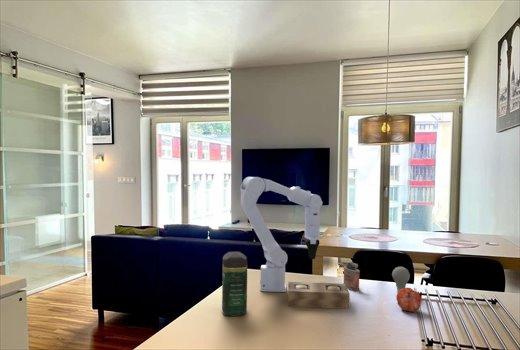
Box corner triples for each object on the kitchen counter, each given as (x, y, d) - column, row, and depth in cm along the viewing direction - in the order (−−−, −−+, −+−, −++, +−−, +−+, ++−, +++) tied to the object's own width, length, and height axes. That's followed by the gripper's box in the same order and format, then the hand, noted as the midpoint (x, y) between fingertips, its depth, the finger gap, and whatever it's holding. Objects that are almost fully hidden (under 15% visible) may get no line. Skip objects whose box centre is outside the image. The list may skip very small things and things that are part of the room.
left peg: (295, 302, 120) (295, 288, 120) (295, 298, 124) (295, 284, 124) (307, 303, 120) (307, 288, 120) (306, 299, 124) (307, 285, 124)
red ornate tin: (341, 285, 139) (341, 260, 139) (347, 284, 140) (348, 259, 140) (354, 292, 132) (354, 265, 132) (361, 290, 133) (362, 264, 133)
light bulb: (410, 293, 130) (411, 266, 130) (407, 298, 125) (408, 270, 125) (393, 290, 134) (394, 264, 134) (390, 294, 129) (390, 267, 129)
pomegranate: (395, 311, 119) (391, 301, 112) (401, 291, 122) (397, 280, 115) (419, 319, 115) (416, 309, 108) (424, 298, 118) (422, 286, 111)
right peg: (328, 304, 119) (328, 289, 119) (327, 299, 123) (327, 285, 123) (340, 304, 119) (340, 290, 119) (338, 300, 123) (338, 286, 123)
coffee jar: (248, 316, 109) (248, 256, 109) (222, 317, 108) (223, 257, 107) (245, 304, 118) (245, 249, 118) (221, 306, 117) (221, 250, 117)
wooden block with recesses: (288, 306, 117) (288, 291, 117) (288, 295, 127) (288, 281, 127) (349, 308, 116) (349, 293, 116) (344, 297, 126) (345, 283, 125)
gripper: (324, 227, 132) (324, 263, 132) (321, 221, 146) (320, 254, 146) (305, 227, 132) (305, 263, 132) (303, 221, 147) (303, 254, 147)
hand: (312, 258), depth 139 cm, fingers closed
